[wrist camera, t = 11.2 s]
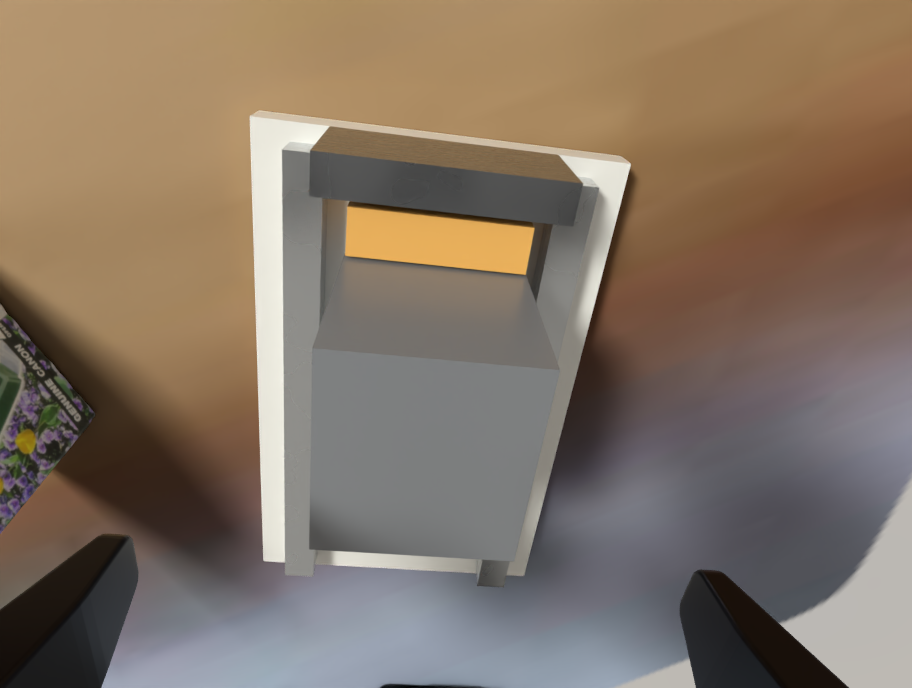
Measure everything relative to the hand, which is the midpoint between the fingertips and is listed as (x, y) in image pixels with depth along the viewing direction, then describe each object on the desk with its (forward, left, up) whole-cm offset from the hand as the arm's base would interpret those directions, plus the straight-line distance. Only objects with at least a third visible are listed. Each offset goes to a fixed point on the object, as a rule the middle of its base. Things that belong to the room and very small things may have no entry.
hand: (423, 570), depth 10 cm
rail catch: (+3, 0, -9) cm, 10 cm away
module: (0, 0, -10) cm, 10 cm away
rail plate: (-3, 0, -11) cm, 11 cm away
